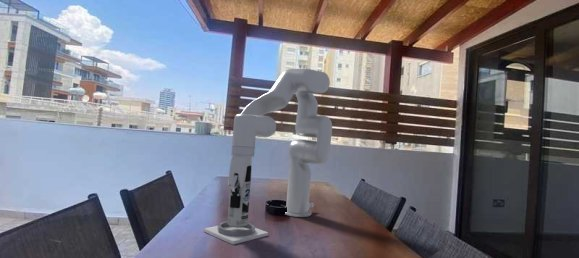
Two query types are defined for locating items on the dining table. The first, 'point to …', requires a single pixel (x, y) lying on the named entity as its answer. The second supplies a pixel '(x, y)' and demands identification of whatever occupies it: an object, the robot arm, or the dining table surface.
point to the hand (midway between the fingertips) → (238, 204)
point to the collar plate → (235, 239)
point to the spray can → (241, 204)
